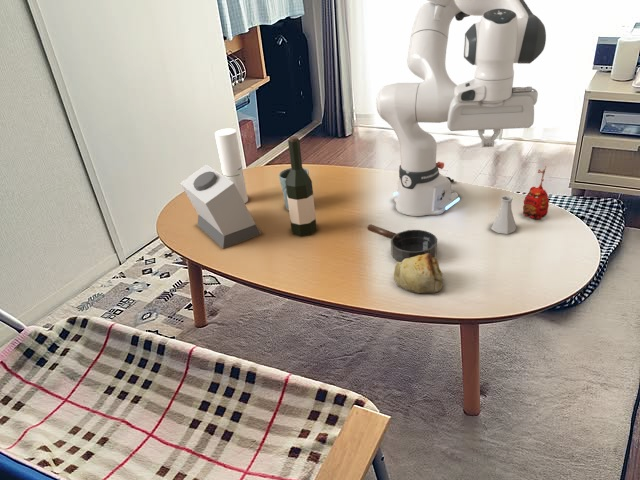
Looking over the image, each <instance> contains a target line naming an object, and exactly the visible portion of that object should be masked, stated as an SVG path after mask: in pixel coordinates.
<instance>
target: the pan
mask: <svg viewBox="0 0 640 480" xmlns="http://www.w3.org/2000/svg"><path fill="white" fill-rule="evenodd" d="M397 235H399V236H400V238H399V240H397V241H396V236H397ZM427 253H430V254H431V255H432V257H434V258H436V257H437V255H438V237H437V236H436V235H435V234H433V233H432V232H430V231H426V230H422V229H407V230H402V231H399V232H396V235H394V236H393V237H392V239H390V255H391V257H392V259H393V260H394V261H396V262H402V261H403V260H404V259H406V258H410V257H415V256H418V255H423V254H427Z"/></svg>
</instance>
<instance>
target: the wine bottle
mask: <svg viewBox="0 0 640 480" xmlns="http://www.w3.org/2000/svg"><path fill="white" fill-rule="evenodd" d="M288 138H289V139H288V140H287V143H288V144H287V145H288V153H289V161H290V168H291V170H290V172H289V174H288V176H287V178H286V180H285V184H286V192H287V199H288V207H289V210H288V211H289V212H288V214H289V221H290V222H289V223H290V229H291V233H292V235H293V236H296V237H301V238H302V237H306V236H312V235H313V234H315V233H316V232H317V231H318V229H317V219H316V208H315V200H314V199H315V198H314V189H313V181H312V178H311V177H310V174H309V175H308V174H307V173H306V171H305V170H304V169H303V168H304V167H303V162H302V152H301V142H300V139H299V138H298V136H296V135H291V136H289V137H288Z"/></svg>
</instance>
